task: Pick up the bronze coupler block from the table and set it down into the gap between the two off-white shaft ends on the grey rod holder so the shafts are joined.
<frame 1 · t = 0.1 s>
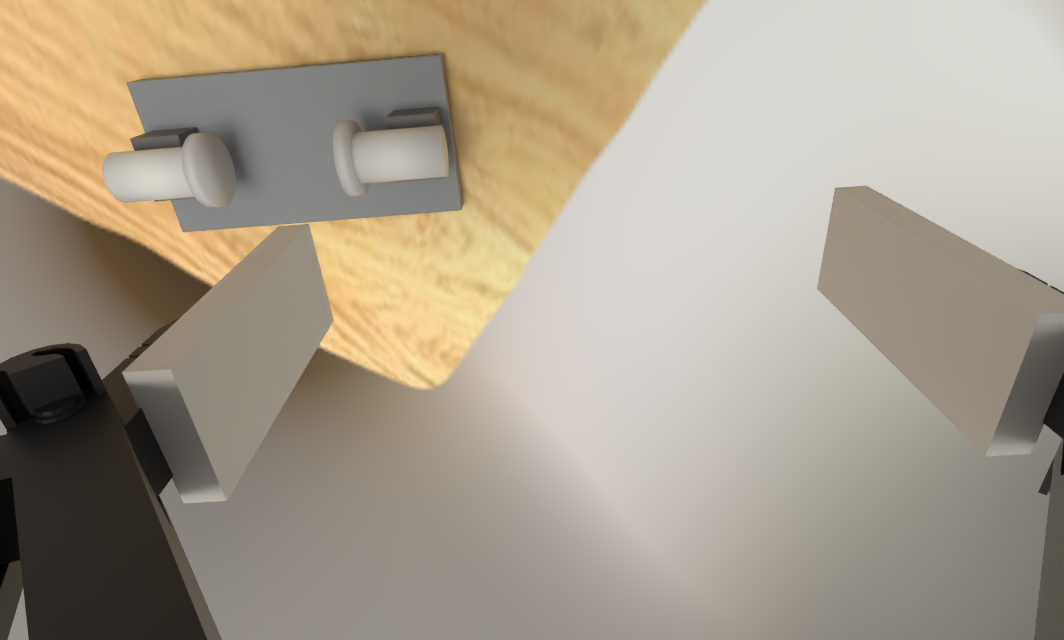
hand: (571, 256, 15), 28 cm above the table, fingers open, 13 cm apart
grey rod holder: (309, 144, 41), on the table
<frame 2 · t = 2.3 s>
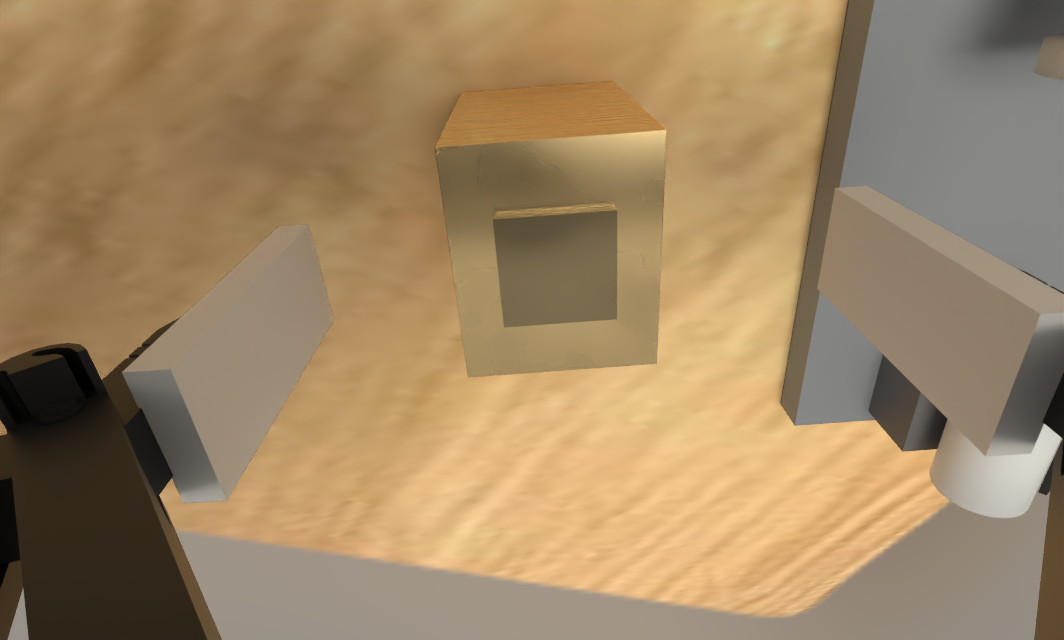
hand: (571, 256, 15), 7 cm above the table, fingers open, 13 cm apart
coupler: (542, 175, 21), on the table
grey rod holder: (955, 172, 22), on the table
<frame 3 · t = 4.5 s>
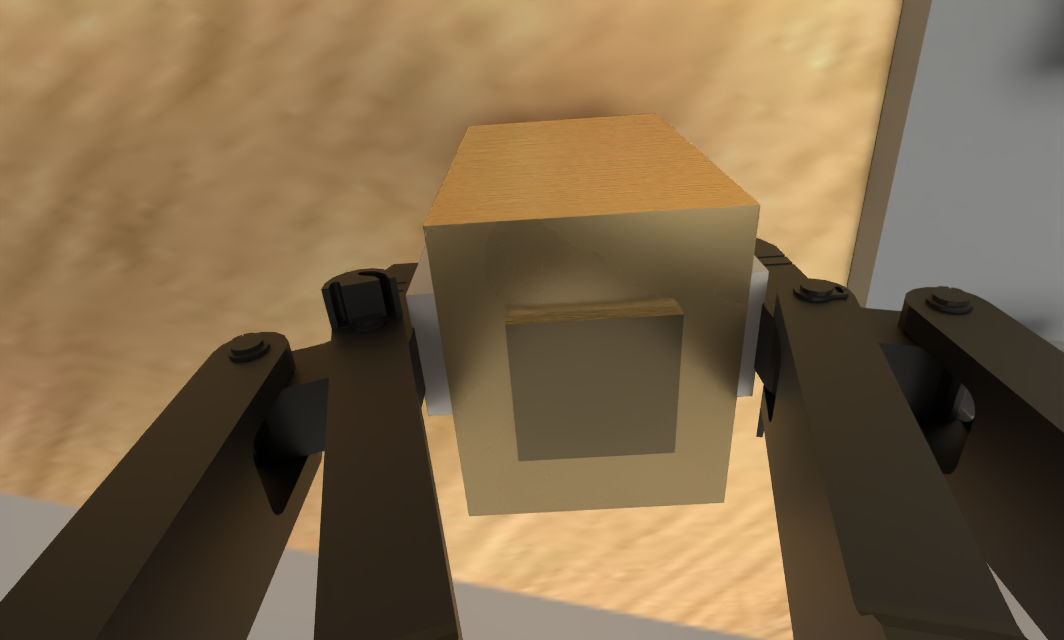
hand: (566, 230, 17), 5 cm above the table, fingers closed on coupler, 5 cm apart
coupler: (566, 226, 17), point 4 cm above the table, touching gripper
grey rod holder: (1009, 195, 21), on the table
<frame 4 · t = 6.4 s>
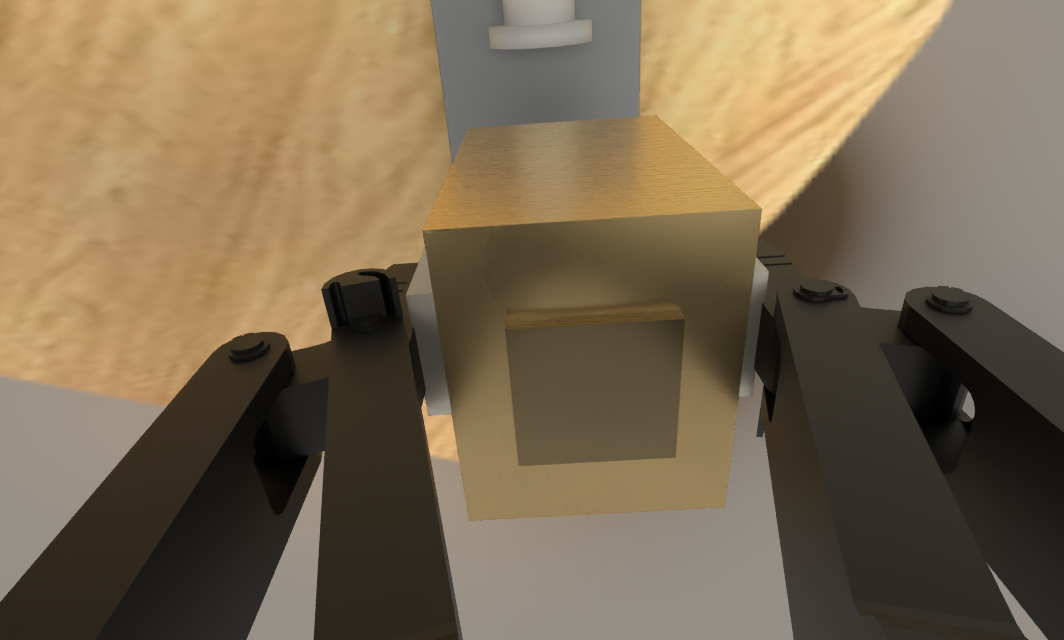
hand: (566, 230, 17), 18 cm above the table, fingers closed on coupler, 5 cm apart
coupler: (566, 228, 17), point 17 cm above the table, touching gripper
grey rod holder: (542, 117, 32), on the table
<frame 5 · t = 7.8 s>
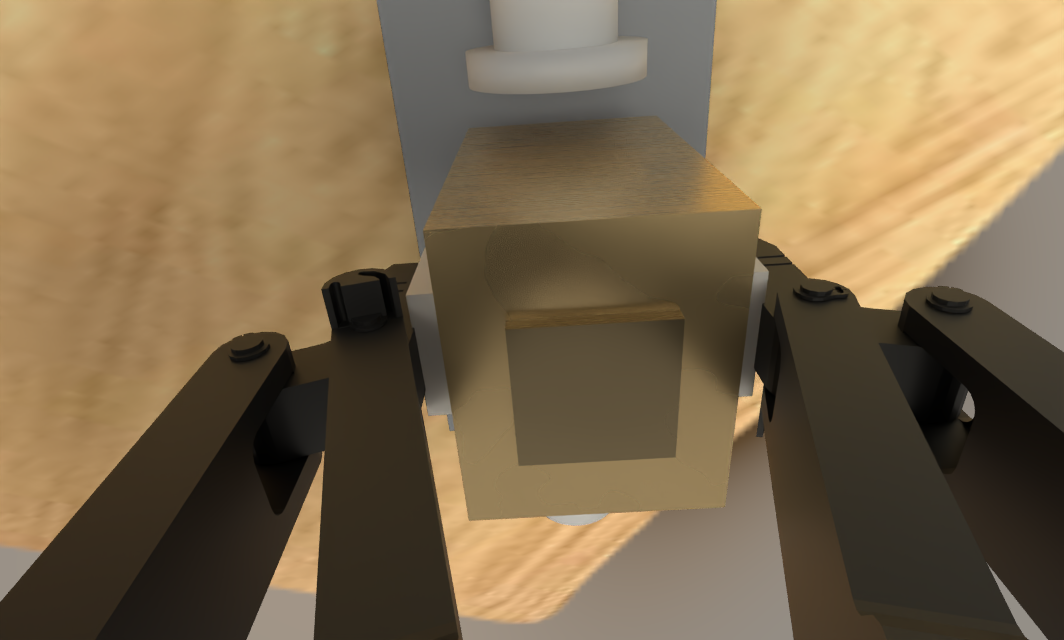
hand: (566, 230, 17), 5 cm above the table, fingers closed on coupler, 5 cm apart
coupler: (566, 229, 17), point 5 cm above the table, touching gripper
grey rod holder: (554, 179, 22), on the table
when the fingers open (2 cm above the table, at t = 8.6 s): coupler stays where it is, resting on grey rod holder.
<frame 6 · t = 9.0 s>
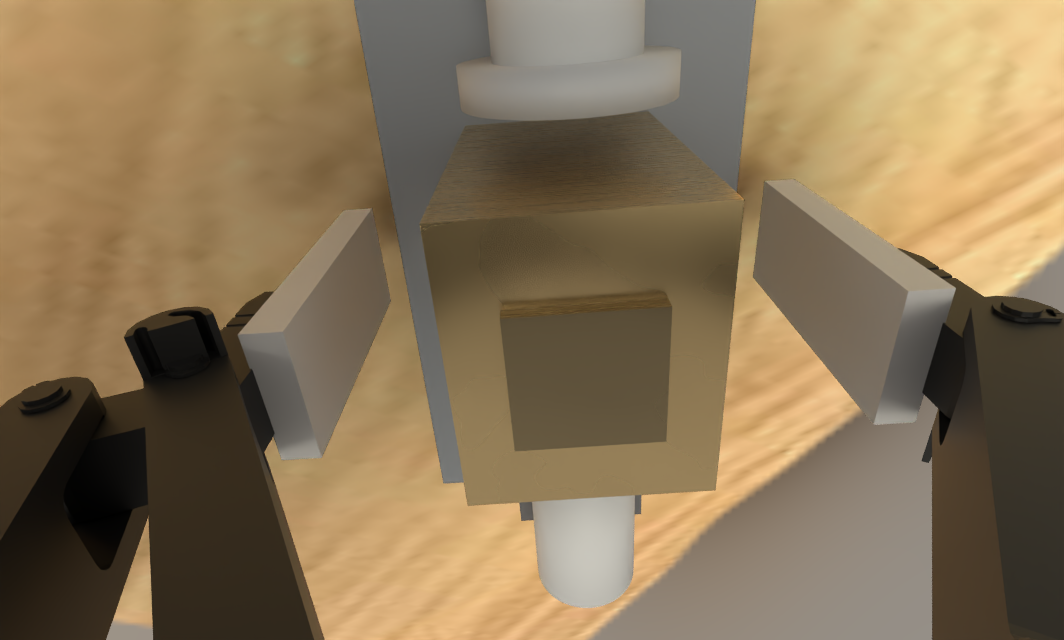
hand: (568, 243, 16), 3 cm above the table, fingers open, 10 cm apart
coupler: (561, 223, 18), point 1 cm above the table, touching grey rod holder
grey rod holder: (562, 205, 19), on the table
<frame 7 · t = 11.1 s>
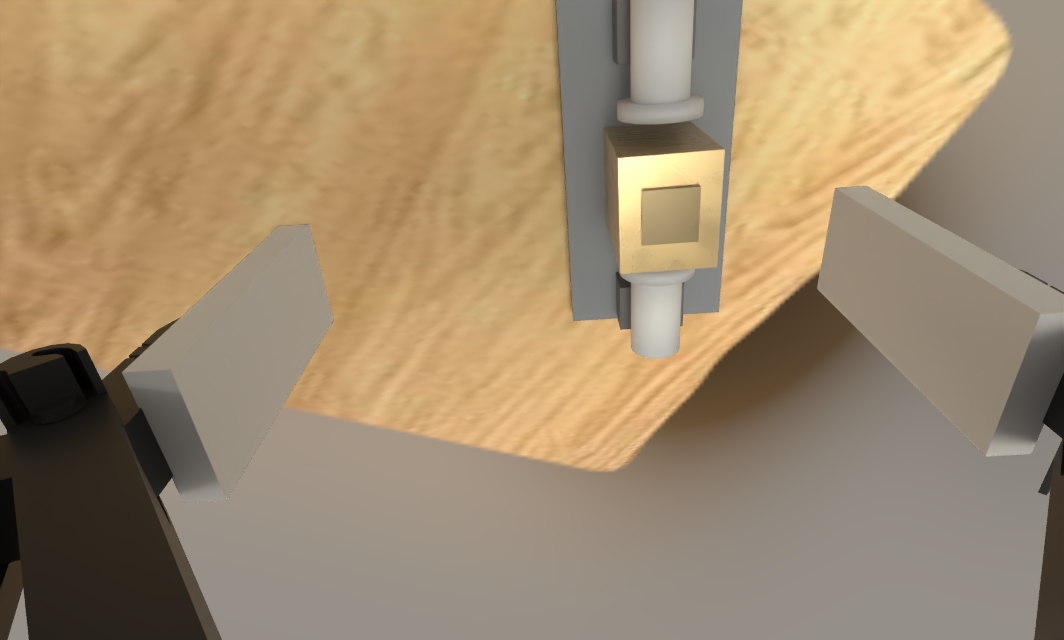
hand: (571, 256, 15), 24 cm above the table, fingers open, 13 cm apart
coupler: (645, 173, 36), point 1 cm above the table, touching grey rod holder
grey rod holder: (643, 166, 38), on the table
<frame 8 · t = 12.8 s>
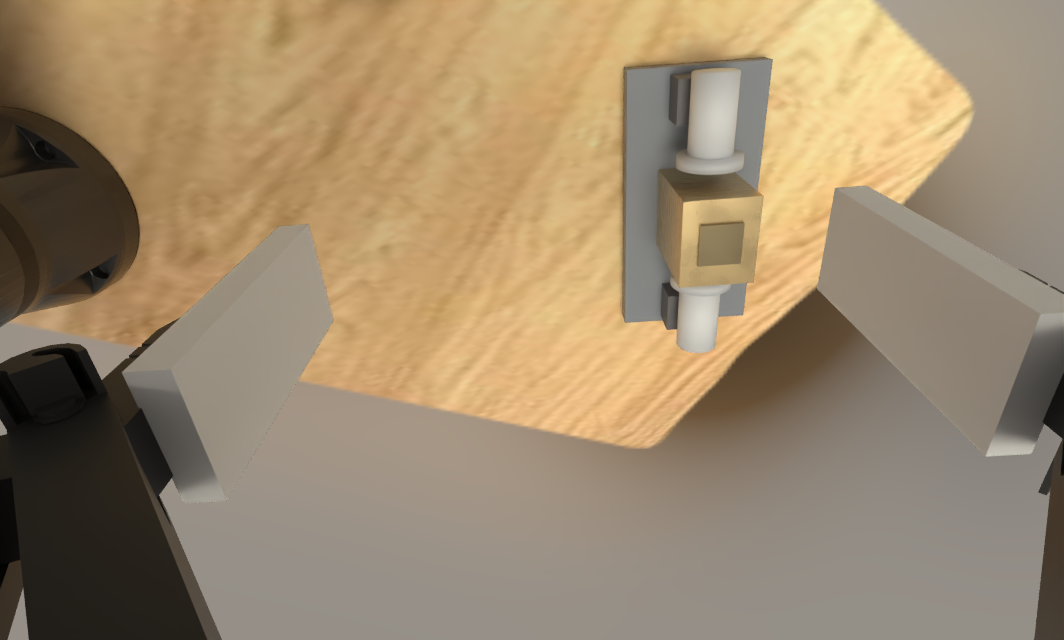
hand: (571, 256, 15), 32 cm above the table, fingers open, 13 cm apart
coupler: (689, 205, 46), point 1 cm above the table, touching grey rod holder
grey rod holder: (686, 199, 47), on the table
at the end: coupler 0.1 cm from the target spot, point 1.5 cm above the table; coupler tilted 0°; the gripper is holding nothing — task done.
